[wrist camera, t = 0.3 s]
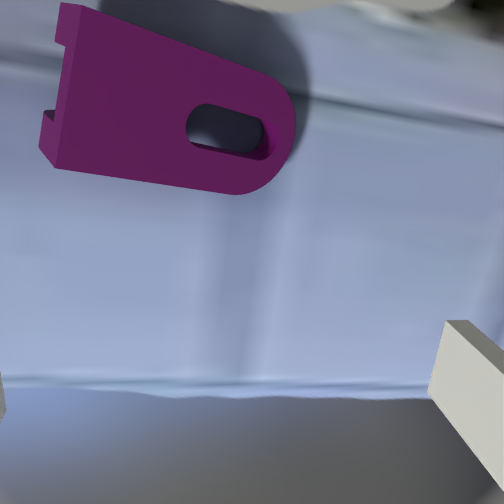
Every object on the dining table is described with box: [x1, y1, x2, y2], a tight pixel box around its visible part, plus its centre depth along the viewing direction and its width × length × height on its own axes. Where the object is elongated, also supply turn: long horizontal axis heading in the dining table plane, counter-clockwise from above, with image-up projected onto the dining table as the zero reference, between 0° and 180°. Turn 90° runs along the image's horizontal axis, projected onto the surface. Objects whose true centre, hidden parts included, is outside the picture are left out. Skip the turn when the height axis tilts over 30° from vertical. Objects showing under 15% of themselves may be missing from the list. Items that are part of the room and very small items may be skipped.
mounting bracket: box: [39, 2, 295, 195], centre depth 35 cm, size 9×8×18 cm
